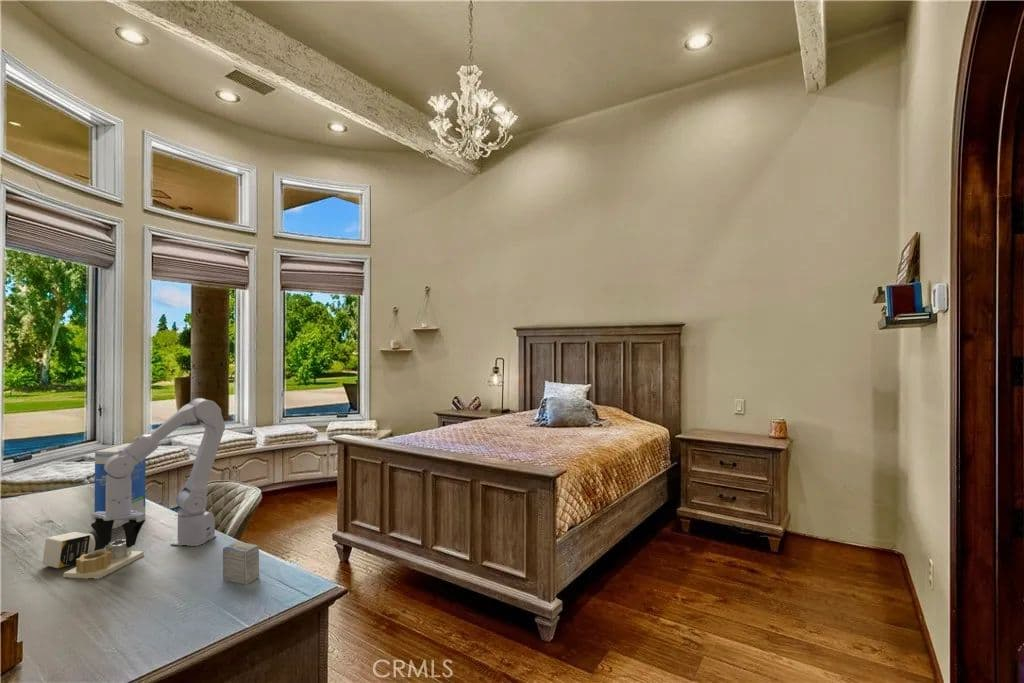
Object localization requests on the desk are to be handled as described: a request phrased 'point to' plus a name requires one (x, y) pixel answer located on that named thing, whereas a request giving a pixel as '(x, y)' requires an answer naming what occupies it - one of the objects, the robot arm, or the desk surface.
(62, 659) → the desk surface
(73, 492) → the desk surface
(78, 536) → the medicine bottle
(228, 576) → the beige wooden block
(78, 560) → the gear board
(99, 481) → the string lights box
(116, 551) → the steel gear
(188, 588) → the desk surface
